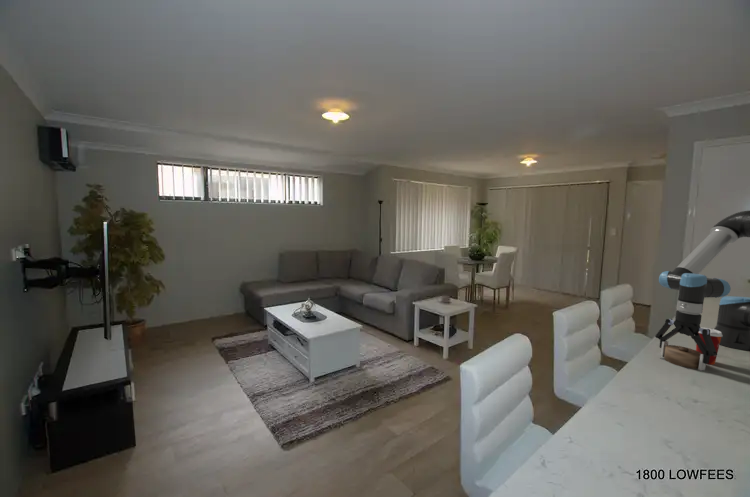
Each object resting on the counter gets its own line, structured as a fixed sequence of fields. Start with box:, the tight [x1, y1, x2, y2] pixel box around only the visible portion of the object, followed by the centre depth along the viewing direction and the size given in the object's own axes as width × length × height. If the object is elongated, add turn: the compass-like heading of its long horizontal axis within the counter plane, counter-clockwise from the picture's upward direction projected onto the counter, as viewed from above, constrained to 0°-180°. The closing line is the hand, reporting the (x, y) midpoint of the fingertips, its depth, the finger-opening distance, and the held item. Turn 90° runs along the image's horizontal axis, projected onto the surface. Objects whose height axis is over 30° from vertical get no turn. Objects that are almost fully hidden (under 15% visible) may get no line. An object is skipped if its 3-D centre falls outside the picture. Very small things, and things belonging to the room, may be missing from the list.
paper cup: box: [695, 326, 723, 365], centre depth 137 cm, size 8×8×14 cm
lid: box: [663, 344, 701, 370], centre depth 136 cm, size 11×11×6 cm
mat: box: [659, 357, 694, 370], centre depth 136 cm, size 10×10×1 cm
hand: (681, 363), depth 136 cm, fingers open, 12 cm apart
